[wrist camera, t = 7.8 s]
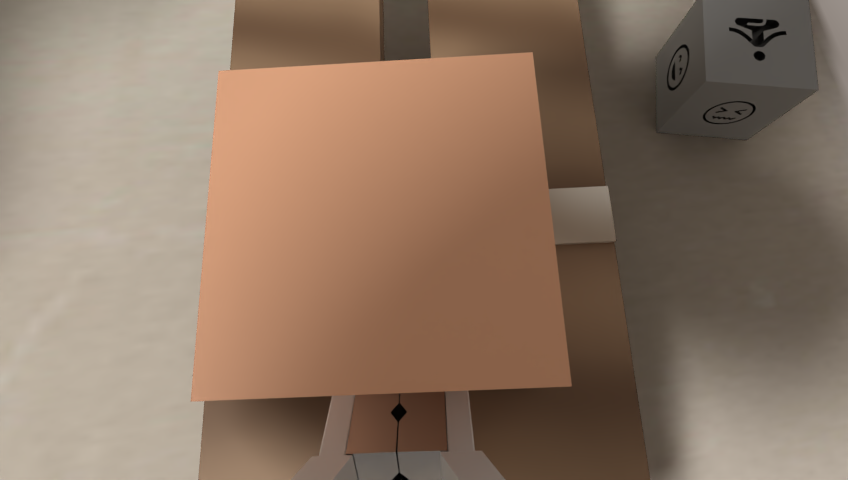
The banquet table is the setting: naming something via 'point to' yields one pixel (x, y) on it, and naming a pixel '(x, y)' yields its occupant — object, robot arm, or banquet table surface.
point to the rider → (379, 233)
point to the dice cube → (735, 67)
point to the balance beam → (573, 232)
